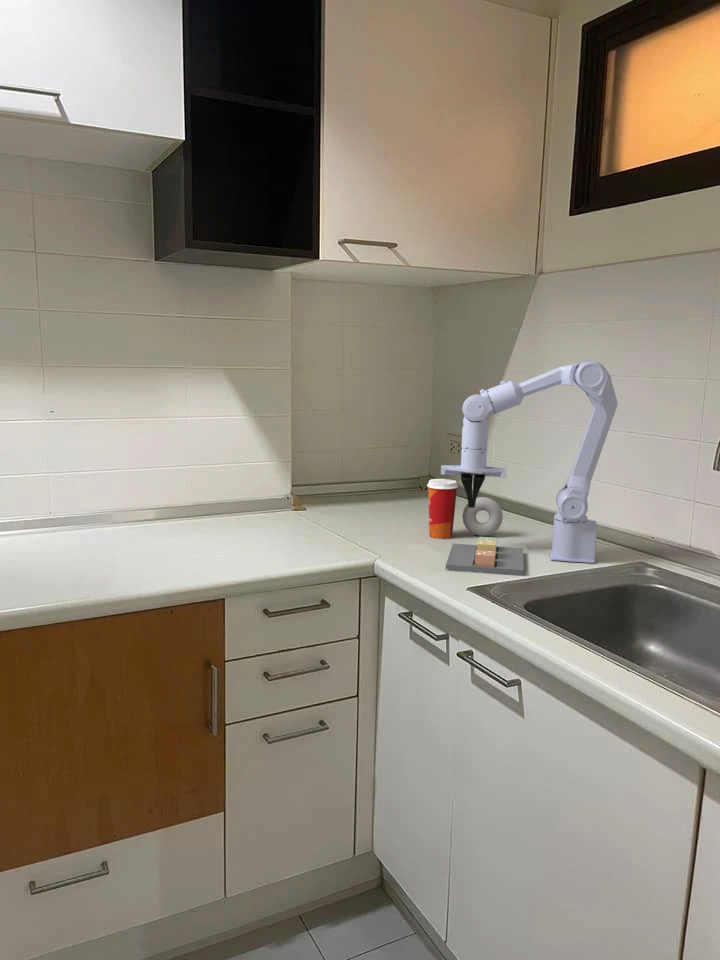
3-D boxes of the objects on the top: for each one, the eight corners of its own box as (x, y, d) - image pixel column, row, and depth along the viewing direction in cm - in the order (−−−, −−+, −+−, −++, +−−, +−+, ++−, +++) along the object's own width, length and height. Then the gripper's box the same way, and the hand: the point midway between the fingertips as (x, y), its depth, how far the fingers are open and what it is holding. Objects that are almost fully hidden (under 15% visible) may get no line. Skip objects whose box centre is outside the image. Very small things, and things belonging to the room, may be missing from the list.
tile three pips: (494, 565, 160) (495, 550, 160) (493, 570, 156) (494, 555, 156) (475, 564, 161) (476, 549, 160) (474, 569, 157) (475, 554, 157)
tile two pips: (495, 554, 166) (496, 540, 165) (495, 559, 162) (495, 544, 161) (477, 553, 167) (478, 539, 166) (476, 558, 163) (477, 543, 162)
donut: (461, 536, 186) (463, 497, 184) (461, 533, 189) (462, 494, 188) (502, 538, 185) (504, 499, 183) (501, 535, 188) (503, 496, 187)
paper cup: (438, 531, 192) (439, 477, 189) (462, 536, 186) (464, 481, 184) (418, 536, 186) (420, 480, 184) (443, 541, 181) (445, 484, 178)
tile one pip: (496, 551, 172) (496, 537, 171) (495, 555, 168) (496, 541, 167) (478, 550, 173) (479, 536, 172) (477, 554, 169) (478, 540, 168)
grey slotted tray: (522, 553, 172) (523, 548, 171) (523, 575, 154) (523, 570, 154) (452, 548, 175) (453, 543, 175) (445, 570, 157) (445, 564, 157)
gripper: (507, 447, 171) (504, 505, 174) (443, 444, 174) (441, 501, 176) (506, 451, 164) (503, 511, 167) (440, 448, 167) (438, 507, 170)
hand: (471, 506), depth 171 cm, fingers closed
